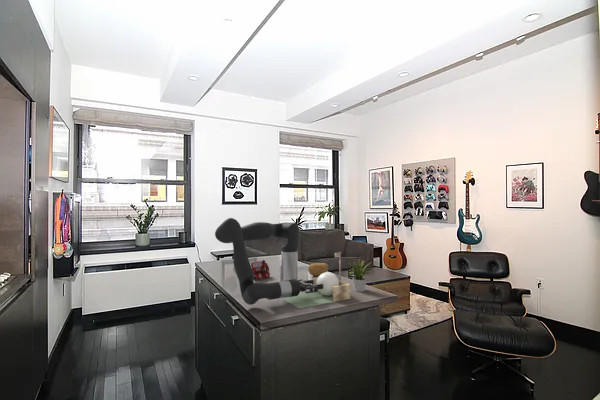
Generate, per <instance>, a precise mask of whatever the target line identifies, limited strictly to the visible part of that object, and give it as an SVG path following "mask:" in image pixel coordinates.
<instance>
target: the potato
mask: <svg viewBox="0 0 600 400" xmlns="http://www.w3.org/2000/svg"><path fill="white" fill-rule="evenodd" d="M328 270H329V264H328V263H325V262H315V263H311V264H309V265H308V267H307V271H308V274H309V275H311V276H312V277H319V276H320V275H321V274H322V273H325V272H329V271H328Z"/></svg>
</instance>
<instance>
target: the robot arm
mask: <svg viewBox="0 0 600 400" xmlns="http://www.w3.org/2000/svg"><path fill="white" fill-rule="evenodd" d="M214 236H215V238H216V240H217V241H218V242H220V243H222V244H232V249H233V251H232V252H233V255H232V256H233V259H232V260H233V262H232V263H233V268H234V271H235V274H236V278H237V280H238V283H239V289H240V293H241V297H242V300H243V301H244V303H246V304H247V305H249V306H250V305H251V306H253V305H255V304H256V303H257V302H258V301H259V300H261V299H267V300H270V301H272V300H276V299H277V300H279V299H283V298H288V297H294V296H298V295H299V293H301V292H305V293H313V292H317V290H319V289H323V284H317V285H313V284H314V280H312V279H308V280H305V279H302V278H301V279H299V276H298V271H299V269H298V268H299V267H298V264H299V263H298V262H299V261H298V256H299V255H298V252H299V251H298V250H299V244H300V228H299V225H298V223H295V222H279V223H270V222H266V221H265V222H264V221H258V222H252V223H249V224H246V225H243V226H241V224H240V222H239V221H238V220H237V219H236V218H234V217H233V218H232V217H229V218H226V219H225V220H224V221H223V222H222V223H220V225H218V226H217V228H216V230H215V232H214ZM272 238H280V239H285V240H287V241H286V242H287V243H285V244H283V245H281V249H280V250H281V251H280V252H281V253H280V254H281V255H280V257H281V261H280V262H281V263H280V264H279V281H276V282H275V281H274V282H269V283H267V282H254V280H255V278H254V273H253V270H252V267H251V262H250V259H249V257H248V253H247V249H246V244H245V242H246V241H247V242H248V241H250V242H251V241H267V240H270V239H272ZM313 288H314V289H313Z"/></svg>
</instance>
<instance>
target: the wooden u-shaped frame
mask: <svg viewBox="0 0 600 400" xmlns="http://www.w3.org/2000/svg"><path fill="white" fill-rule="evenodd" d="M334 258H336V259H337V258H339V259H338V260H339V261H338V264H339V266H338V268H339V269H338V271H339V274H338V275H339V277H338V280H339V286H333V301H334V302H333V303H335V301H336V302H340V300H341V301H345V299H346V300H350V298H351V283H348V282H346V281H343V280H342V268H341V267H342V263H341V262H342V252H341V251H339V252H334ZM317 278H318V277H317V276H314V277H312V278H311V280H314V284H313V285H316V281H317ZM313 289H314V288H313ZM317 291H318V290H317Z"/></svg>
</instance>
